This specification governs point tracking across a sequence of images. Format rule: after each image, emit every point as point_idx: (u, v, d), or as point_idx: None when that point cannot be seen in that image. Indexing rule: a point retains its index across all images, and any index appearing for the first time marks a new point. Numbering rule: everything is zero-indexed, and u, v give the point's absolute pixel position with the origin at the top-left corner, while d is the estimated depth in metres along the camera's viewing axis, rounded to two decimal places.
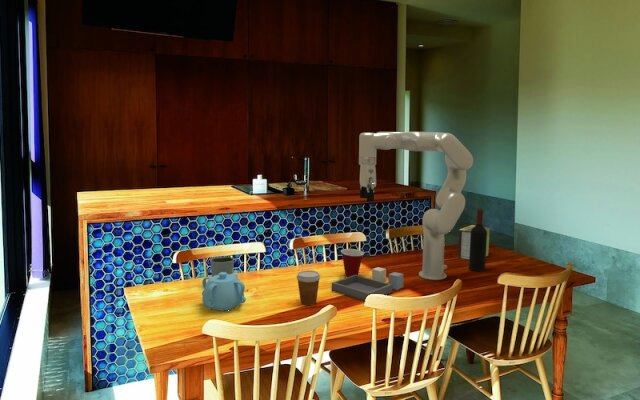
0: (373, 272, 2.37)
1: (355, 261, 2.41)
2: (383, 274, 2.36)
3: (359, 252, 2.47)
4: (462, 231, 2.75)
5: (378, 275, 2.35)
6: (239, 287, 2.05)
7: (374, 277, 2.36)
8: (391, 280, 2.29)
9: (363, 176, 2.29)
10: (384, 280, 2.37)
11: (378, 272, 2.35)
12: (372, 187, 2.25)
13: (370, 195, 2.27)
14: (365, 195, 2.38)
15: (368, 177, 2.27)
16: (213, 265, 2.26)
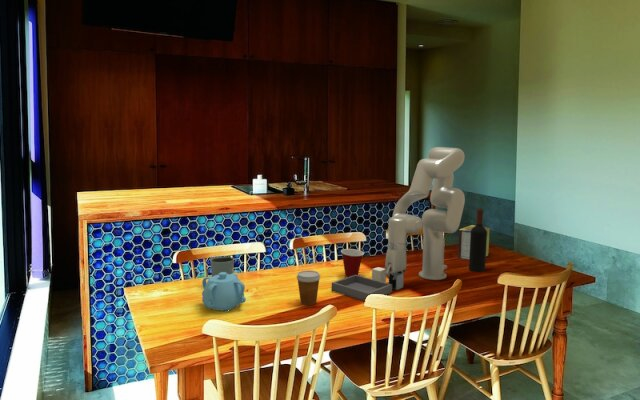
0: (373, 272, 2.37)
1: (355, 261, 2.41)
2: (383, 274, 2.36)
3: (359, 252, 2.47)
4: (462, 231, 2.75)
5: (378, 275, 2.35)
6: (239, 287, 2.05)
7: (374, 277, 2.36)
8: None
9: (403, 260, 2.28)
10: (384, 280, 2.37)
11: (378, 272, 2.35)
12: None
13: None
14: None
15: None
16: (213, 265, 2.26)
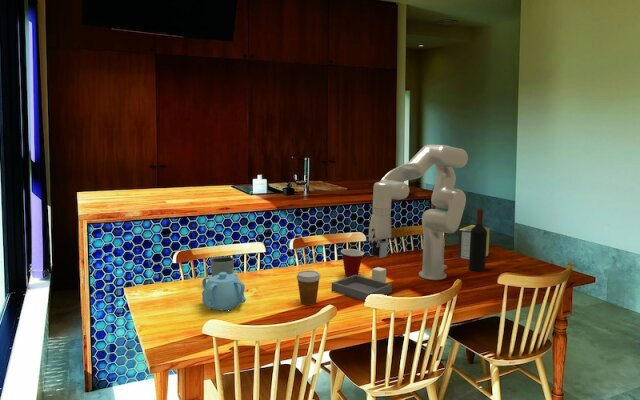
0: (373, 272, 2.37)
1: (355, 261, 2.41)
2: (383, 274, 2.36)
3: (359, 252, 2.47)
4: (462, 231, 2.75)
5: (378, 275, 2.35)
6: (239, 287, 2.05)
7: (374, 277, 2.36)
8: None
9: (388, 227, 2.19)
10: (384, 280, 2.37)
11: (378, 272, 2.35)
12: None
13: None
14: None
15: None
16: (213, 265, 2.26)
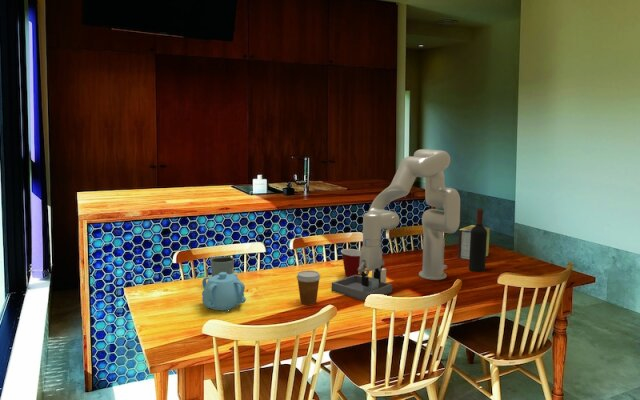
0: (373, 272, 2.37)
1: (355, 261, 2.41)
2: (383, 274, 2.36)
3: (359, 252, 2.47)
4: (462, 231, 2.75)
5: None
6: (239, 287, 2.05)
7: None
8: None
9: (379, 257, 2.18)
10: (384, 280, 2.37)
11: None
12: None
13: None
14: None
15: None
16: (213, 265, 2.26)
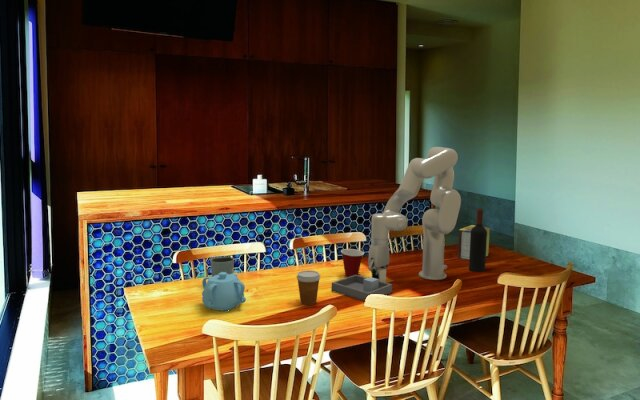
0: None
1: (355, 261, 2.41)
2: (383, 274, 2.36)
3: (359, 252, 2.47)
4: (462, 231, 2.75)
5: None
6: (239, 287, 2.05)
7: None
8: (365, 285, 2.19)
9: (386, 255, 2.36)
10: (384, 280, 2.37)
11: (378, 272, 2.35)
12: None
13: None
14: None
15: None
16: (213, 265, 2.26)
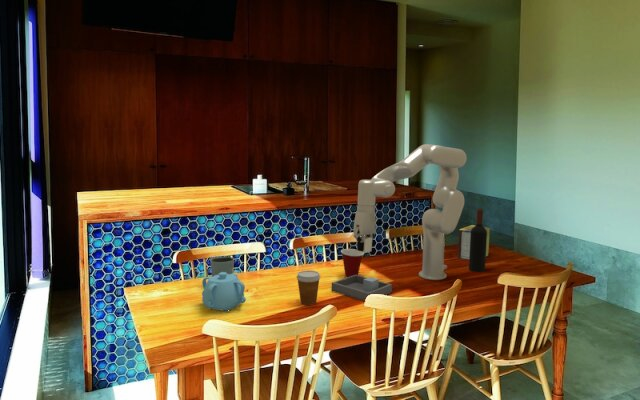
0: None
1: (355, 261, 2.41)
2: (369, 243, 2.28)
3: (359, 252, 2.47)
4: (462, 231, 2.75)
5: None
6: (239, 287, 2.05)
7: None
8: (365, 285, 2.19)
9: (372, 223, 2.28)
10: (370, 249, 2.29)
11: (363, 240, 2.27)
12: None
13: None
14: None
15: None
16: (213, 265, 2.26)
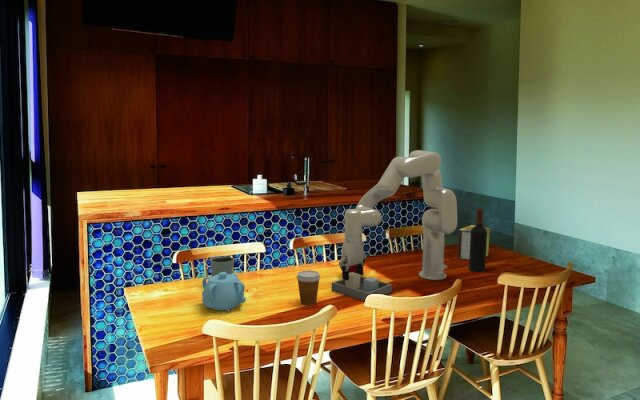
0: None
1: None
2: (357, 280, 2.26)
3: None
4: (462, 231, 2.75)
5: (351, 281, 2.25)
6: (239, 287, 2.05)
7: (348, 283, 2.26)
8: (365, 285, 2.19)
9: (360, 253, 2.25)
10: (358, 286, 2.27)
11: (351, 277, 2.24)
12: None
13: None
14: None
15: None
16: (213, 265, 2.26)
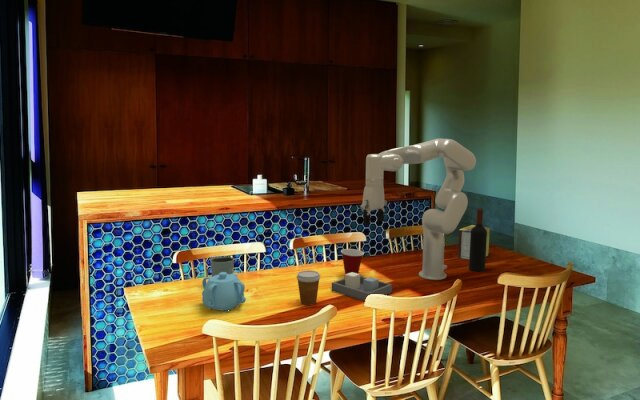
0: (346, 277, 2.26)
1: (355, 261, 2.41)
2: (357, 280, 2.26)
3: (359, 252, 2.47)
4: (462, 231, 2.75)
5: (351, 281, 2.25)
6: (239, 287, 2.05)
7: (348, 283, 2.26)
8: (365, 285, 2.19)
9: (381, 198, 2.27)
10: (358, 286, 2.27)
11: (351, 277, 2.24)
12: None
13: None
14: None
15: None
16: (213, 265, 2.26)
